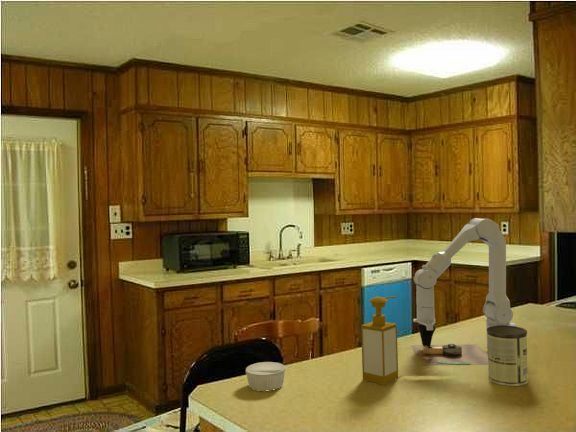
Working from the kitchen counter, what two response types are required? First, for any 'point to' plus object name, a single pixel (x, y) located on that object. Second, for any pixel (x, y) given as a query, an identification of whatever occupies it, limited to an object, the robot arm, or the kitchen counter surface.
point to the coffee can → (507, 355)
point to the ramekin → (265, 375)
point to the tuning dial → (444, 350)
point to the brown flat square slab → (469, 356)
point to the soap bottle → (379, 347)
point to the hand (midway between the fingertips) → (426, 347)
